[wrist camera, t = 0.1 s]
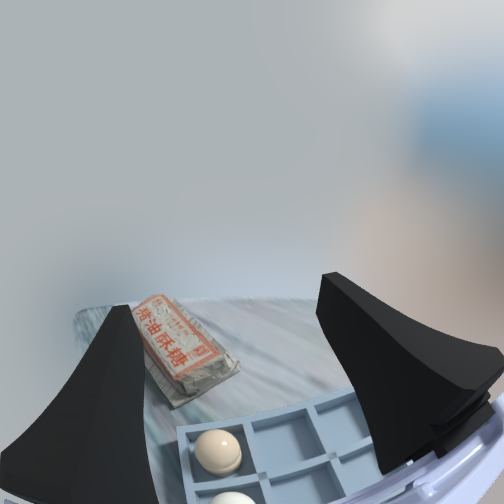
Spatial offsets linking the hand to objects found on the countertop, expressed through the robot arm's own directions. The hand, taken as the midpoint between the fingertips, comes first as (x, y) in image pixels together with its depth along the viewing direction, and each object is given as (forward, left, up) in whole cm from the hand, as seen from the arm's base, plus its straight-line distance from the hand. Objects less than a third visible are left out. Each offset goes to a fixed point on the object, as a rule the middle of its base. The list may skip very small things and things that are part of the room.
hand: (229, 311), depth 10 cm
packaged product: (+20, +6, -22) cm, 31 cm away
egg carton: (-1, -4, -22) cm, 22 cm away
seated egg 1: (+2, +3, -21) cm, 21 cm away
